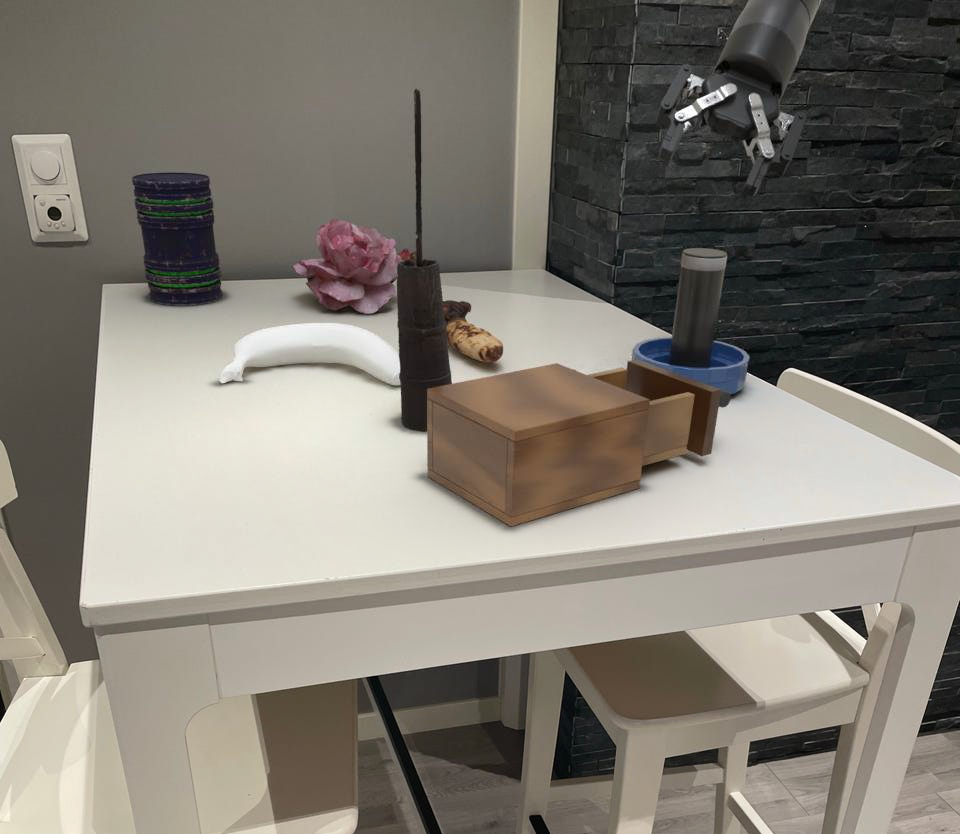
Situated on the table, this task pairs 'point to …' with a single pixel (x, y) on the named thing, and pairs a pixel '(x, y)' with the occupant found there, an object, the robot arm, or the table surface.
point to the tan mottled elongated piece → (469, 334)
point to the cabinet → (535, 441)
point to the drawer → (671, 409)
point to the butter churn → (420, 317)
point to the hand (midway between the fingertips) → (705, 177)
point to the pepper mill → (697, 307)
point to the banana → (315, 350)
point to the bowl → (722, 373)
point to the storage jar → (178, 237)
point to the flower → (352, 267)
